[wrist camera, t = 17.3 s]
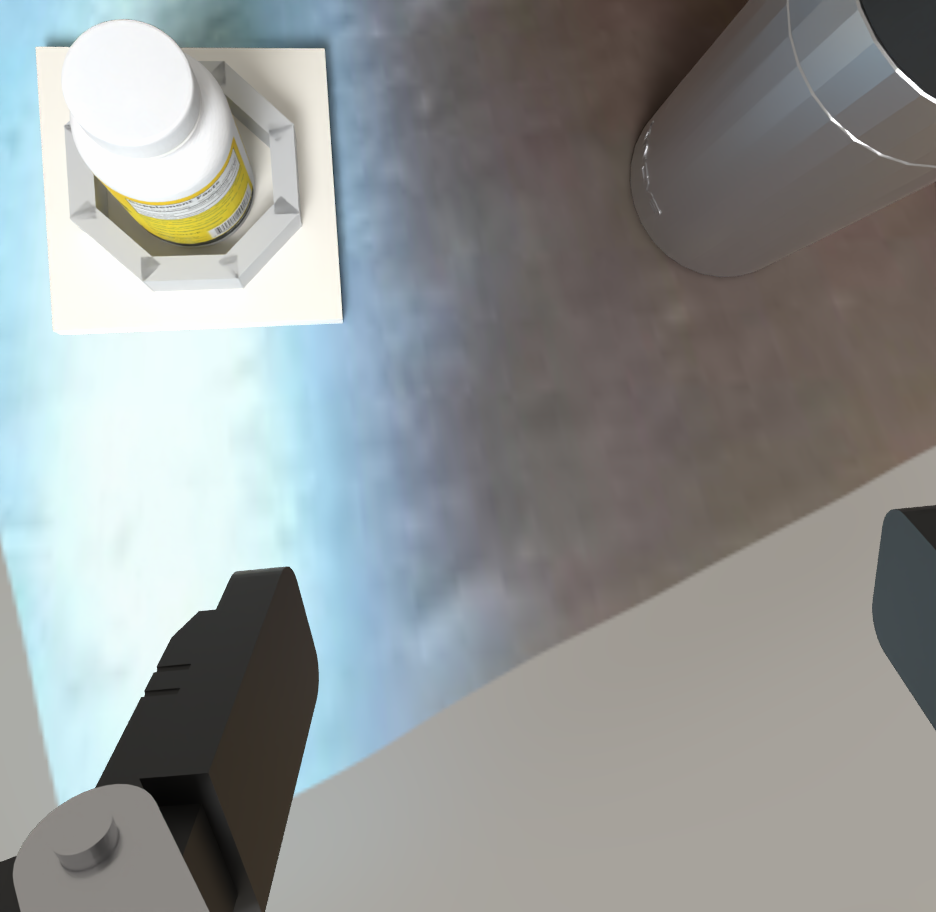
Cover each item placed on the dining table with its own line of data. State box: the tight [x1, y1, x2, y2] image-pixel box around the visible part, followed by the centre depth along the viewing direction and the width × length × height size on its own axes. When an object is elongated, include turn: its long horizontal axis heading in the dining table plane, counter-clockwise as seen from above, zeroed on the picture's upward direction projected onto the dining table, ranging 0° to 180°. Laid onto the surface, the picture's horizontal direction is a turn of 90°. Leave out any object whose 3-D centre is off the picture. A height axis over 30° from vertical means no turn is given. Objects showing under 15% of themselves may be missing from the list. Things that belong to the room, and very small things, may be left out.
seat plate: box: [36, 47, 343, 335], centre depth 34 cm, size 12×12×3 cm
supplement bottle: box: [61, 19, 255, 248], centre depth 30 cm, size 5×5×10 cm
